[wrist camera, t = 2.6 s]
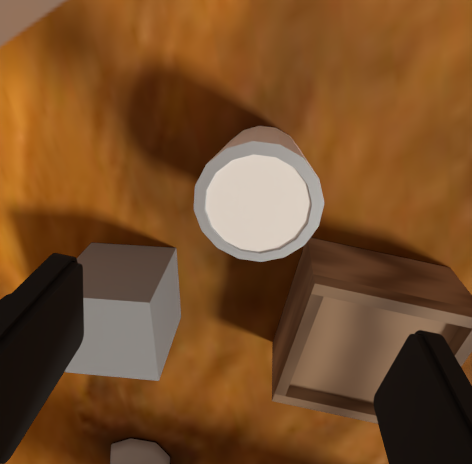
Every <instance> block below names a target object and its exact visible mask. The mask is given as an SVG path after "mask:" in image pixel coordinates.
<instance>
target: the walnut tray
mask: <svg viewBox="0 0 472 464" xmlns="http://www.w3.org/2000/svg"><path fill="white" fill-rule="evenodd" d="M418 330H423V331H428V332H433V333H437V334H441V335H442V336H443V337H444V338H445V340H446V342H447V343H448V345H449V347H450V349H451V350H452V352H453V354H454V356H455V357H456V359H457V361H458V363H459V364H460V366H462V365H463V363H464V362H465V360H466V359H467V357H468V356H469V355H470V353H471V352H472V295H471V294H470V293H469V291H468V290H467V289H466V287H465V286H464V285H463V284H462V282H461V281H460V280H459V278H458V277H457V276H456V275H455V273H454V272H453V271H452V269H451V268H449V267H444V266H440V265H435V264H431V263H426V262H421V261H417V260H412V259H408V258H403V257H398V256H394V255H389V254H384V253H380V252H375V251H371V250H366V249H361V248H357V247H352V246H347V245H343V244H338V243H334V242H329V241H324V240H320V239H315V238H310V239H309V240H308V241H307V243H306V244H305V245H304V248H303V251H302V254H301V257H300V260H299V263H298V266H297V269H296V273H295V276H294V279H293V282H292V285H291V288H290V291H289V294H288V297H287V300H286V303H285V306H284V309H283V312H282V315H281V318H280V322H279V325H278V328H277V331H276V334H275V337H274V340H273V357H272V401H275V402H279V403H284V404H289V405H293V406H298V407H303V408H307V409H312V410H317V411H321V412H326V413H331V414H335V415H340V416H344V417H349V418H354V419H358V420H363V421H368V422H372V423H377V424H378V421H377V417H376V414H375V410H374V404H373V401H374V396H375V393H376V392H377V390H378V388H379V386H380V385H381V383H382V381H383V379H384V378H385V376H386V374H387V372H388V371H389V369H390V367H391V365H392V364H393V362H394V360H395V358H396V357H397V355H398V353H399V351H400V350H401V348H402V346H403V344H404V343H405V341H406V339H407V337H408V336H409V335H410V334H415V332H416V331H418Z"/></svg>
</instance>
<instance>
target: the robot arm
mask: <svg viewBox="0 0 472 464" xmlns="http://www.w3.org/2000/svg"><path fill="white" fill-rule="evenodd" d="M83 337H84V303H83V266H82V264H80V263H78V262H77V259H76V258H75V257H72V256H67V255H62V254H58V253H53V254H52V255H51V256H49V257H48V258H47V259H46V260H45V261H44V262H43V263H42V264H41V265H40V266H39V267H38V268H37V269H36V270H35V271H34V272H33V273H32V274H31V275H30V276H29V277H28V278H27V279H26V280H25V281H24V282H23V283H22V284H21V285H20V286H19V287H18V288H17V289H16V290H15V291H14V292H13V293H12V294H8V295H6V296H5V297H3V298H2V299H1V300H0V463H1V464H4V463H6V462H7V461H8V460H9V459H10V457H11V456H12V454H13V453H14V451H15V450H16V448H17V446H18V445H19V443H20V442H21V440H22V438H23V437H24V435H25V434H26V432H27V430H28V429H29V427H30V426H31V424H32V422H33V421H34V419H35V418H36V416H37V414H38V413H39V411H40V410H41V408H42V406H43V405H44V403H45V402H46V400H47V398H48V397H49V395H50V394H51V392H52V390H53V389H54V387H55V386H56V384H57V382H58V381H59V379H60V378H61V376H62V374H63V373H64V371H65V370H66V368H67V366H68V365H69V363H70V362H71V360H72V358H73V357H74V355H75V354H76V352H77V350H78V349H79V347H80V345H81V343H82V341H83ZM373 404H374V410H375V414H376V417H377V421H378V425H379V428H380V432H381V436H382V439H383V443H384V447H385V450H386V454H387V458H388V461H389V464H472V386H471V384H470V382H469V380H468V379H467V377H466V375H465V373H464V372H463V370H462V368H461V366H460V364H459V363H458V361H457V359H456V357H455V356H454V354H453V352H452V350H451V349H450V347H449V345H448V343H447V342H446V340H445V338H444V337H443V336H442V335H441V334H437V333H433V332H428V331H423V330H418V331H416V332H415V334H410V335H409V336H408V337H407V339H406V341H405V343H404V344H403V346H402V348H401V350H400V351H399V353H398V355H397V357H396V358H395V360H394V362H393V364H392V365H391V367H390V369H389V371H388V372H387V374H386V376H385V378H384V379H383V381H382V383H381V385H380V386H379V388H378V390H377V392H376V393H375V396H374V401H373Z"/></svg>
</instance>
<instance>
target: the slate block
mask: <svg viewBox="0 0 472 464" xmlns="http://www.w3.org/2000/svg"><path fill="white" fill-rule="evenodd" d="M77 262H78V263H80V264H82V266H83V303H84V337H83V341H82V343H81V345H80V347H79V349H78V350H77V352H76V354H75V355H74V357H73V358H72V360H71V362H70V363H69V365H68V366H67V368H66V370H65V372H69V373H80V374H91V375H102V376H112V377H123V378H134V379H145V380H156V381H159V379H160V376H161V373H162V370H163V367H164V365H165V362H166V359H167V356H168V353H169V350H170V347H171V344H172V341H173V338H174V336H175V333H176V330H177V327H178V324H179V321H180V318H181V309H180V294H179V280H178V266H177V251H176V248H169V247H153V246H137V245H121V244H105V243H91V244H90V245H89V246H88V247H87V248H86V249H85V250H84V251H83V252H82V253H81V254H80V255H79V257H78V258H77Z"/></svg>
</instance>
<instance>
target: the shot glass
mask: <svg viewBox="0 0 472 464" xmlns="http://www.w3.org/2000/svg"><path fill="white" fill-rule="evenodd" d="M323 206H324V199H323V195H322V190H321V185H320V180H319V178H318V176H317V175H316V173H315V172H314V170H313V169H312V167H311V166H310V164H309V163H308V161H307V159H306V158H305V156H304V155H303V153H302V152H301V150H300V149H299V147H298V146H297V145H296V143H295V142H294V141H293V139H292V138H291V137H290V136H289V135H287V134H286V133H284V132H282V131H281V130H279V129H277V128H274V127H266V126H256V127H253V128H249V129H246V130H243V131H242V132H240V133H239V134H238V135H237V136H235V137H234V138H233V139H232V140H230V141H229V142H228V143H227V144H226V145H225V146H224V147H223V148H222V149H221V150H220V151H219V152H218V153H217V154H216V155H215V156H214V157H213V158H212V159H211V160H210V161H209V162H208V163H207V164H206V166H205V168H204V170H203V172H202V174H201V176H200V177H199V179H198V181H197V183H196V185H195V196H194V211H195V214H196V217H197V219H198V222H199V225H200V227H201V230H202V232H203V233H204V234H205V235H206V236H207V237H208V238H209V239H210V240H211V242H212V243H213V244H214V245H215V246H216V247H217V248H218V249H220V250H222V251H224V252H226V253H228V254H230V255H232V256H234V257H236V258H238V259H244V260H251V261H258V262H264V261H269V260H274V259H279V258H284V257H286V256H288V255H289V254H291V253H293V252H294V251H296V250H297V249H299V248H301V247H302V246H304V245H305V244H306V243H307V241H308V240H309V239H310V237H311V236H312V235H313V233H314V232H315V231H316V229H317V228H318V227H319V223H320V219H321V215H322V211H323Z"/></svg>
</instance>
